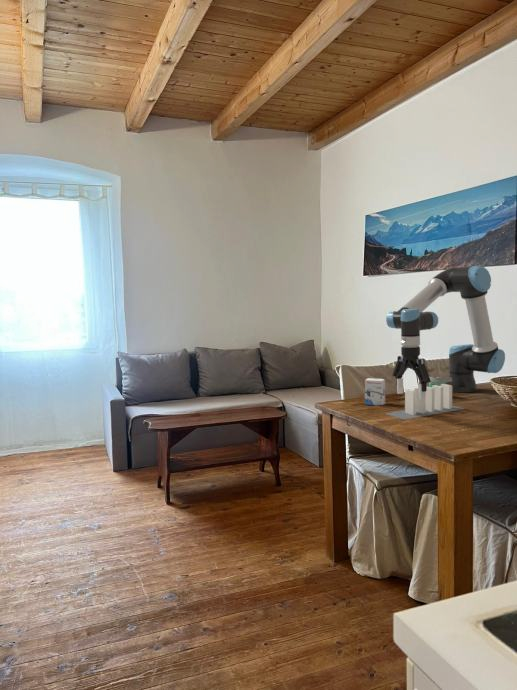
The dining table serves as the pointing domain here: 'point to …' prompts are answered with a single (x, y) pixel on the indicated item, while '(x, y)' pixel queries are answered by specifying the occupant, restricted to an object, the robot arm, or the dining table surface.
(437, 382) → the food container
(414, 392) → the domino
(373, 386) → the ink box
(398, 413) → the mat
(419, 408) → the domino
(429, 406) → the domino
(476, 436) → the dining table surface
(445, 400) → the domino
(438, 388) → the domino
